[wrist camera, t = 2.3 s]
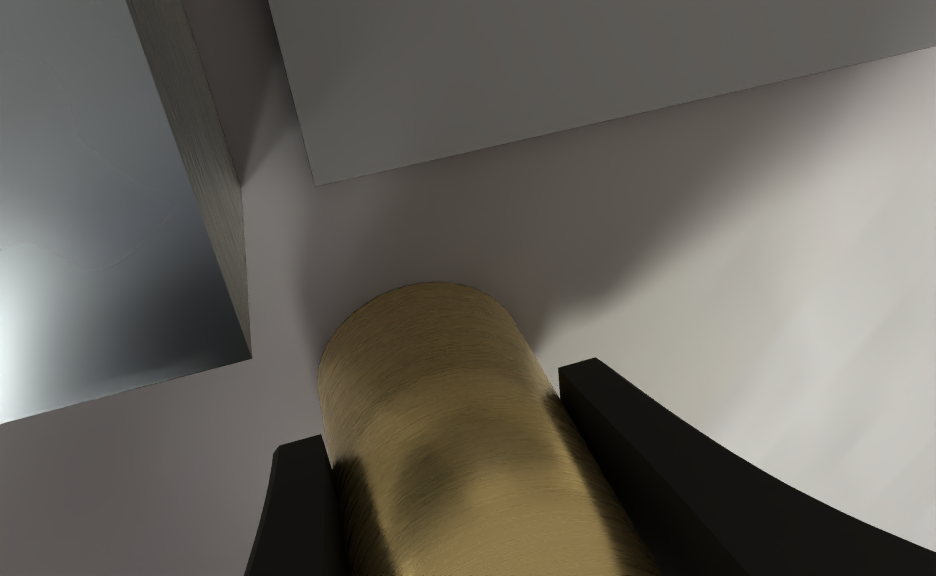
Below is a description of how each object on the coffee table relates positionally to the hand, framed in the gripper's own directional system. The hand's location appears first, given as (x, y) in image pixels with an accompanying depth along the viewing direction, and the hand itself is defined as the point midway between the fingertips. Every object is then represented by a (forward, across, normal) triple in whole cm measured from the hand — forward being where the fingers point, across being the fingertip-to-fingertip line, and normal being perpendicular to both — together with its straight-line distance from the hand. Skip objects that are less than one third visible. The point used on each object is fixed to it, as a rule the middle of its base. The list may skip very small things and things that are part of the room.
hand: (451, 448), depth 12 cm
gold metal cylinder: (+2, 0, 0) cm, 2 cm away
